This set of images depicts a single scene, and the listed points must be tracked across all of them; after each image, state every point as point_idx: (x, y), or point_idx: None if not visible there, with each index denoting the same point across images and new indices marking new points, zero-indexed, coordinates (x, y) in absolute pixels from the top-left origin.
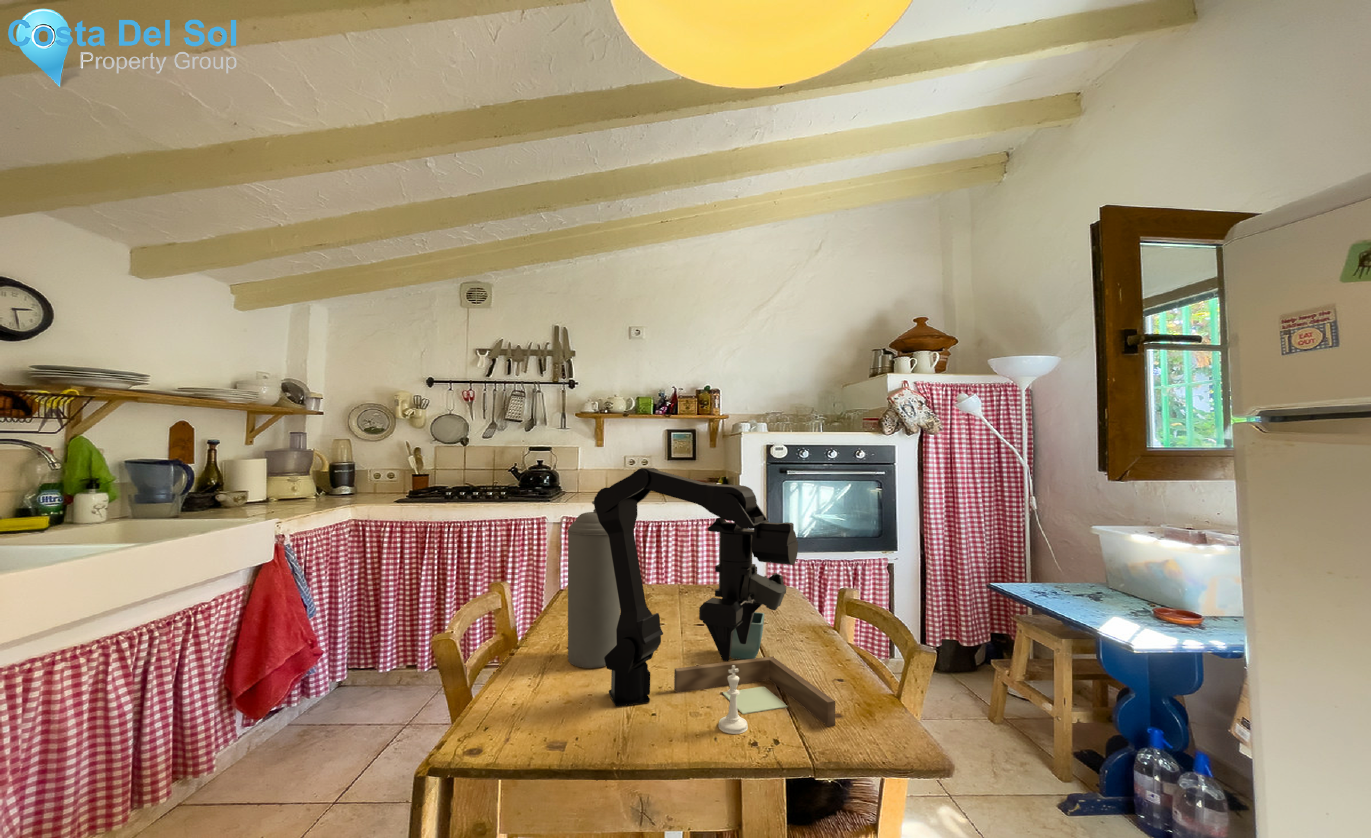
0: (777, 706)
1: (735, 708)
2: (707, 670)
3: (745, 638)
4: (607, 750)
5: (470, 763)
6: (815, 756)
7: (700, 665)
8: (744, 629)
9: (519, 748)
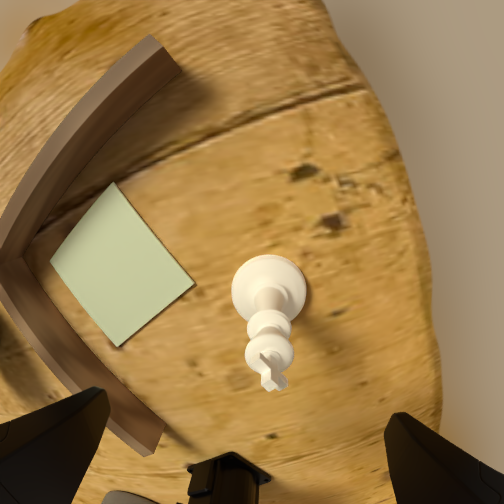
0: (123, 206)
1: (277, 302)
2: None
3: (91, 406)
4: None
5: None
6: (334, 81)
7: None
8: (66, 443)
9: None
